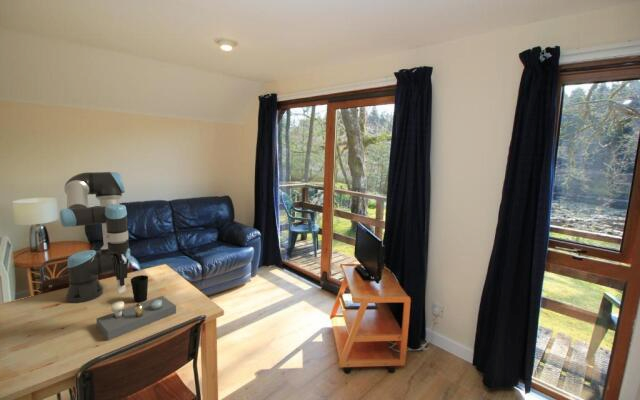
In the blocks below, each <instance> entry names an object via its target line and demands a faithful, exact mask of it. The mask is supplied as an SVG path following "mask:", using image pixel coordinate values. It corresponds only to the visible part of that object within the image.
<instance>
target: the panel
mask: <svg viewBox="0 0 640 400" xmlns="http://www.w3.org/2000/svg"><path fill="white" fill-rule="evenodd" d="M154 300H162V307H161V308H160V309H157V310H153V309H151V307H150V303H151V302H152V301H154ZM141 304H142V307H143V316H142V317H139V318H137V317H136V314H135V305H136V304H134V305H131V306H130V307H129V306H128V307H126V308H124V309H123V310H122V317H120V318H117V319H115V312H111V313H108V314H106V315H103V316H100V317H98V318H96V327H97V329H98V330H99V332H101V333H102V336H105V338H106V340H107V341H110V340H113V339H116V338H119V337H120V336H123V335H125V334H128V333H131V332H133V331H135V330H138V329H140V328H143V327H145V326H147V325H150V324H152V323H155V322H158V321H160V320H162V319H165V318H168V317H169V316H172V315H175V314H177V304H175V303H173V302H172V301H171V300H169V299H168V298H166V297H165V296H164V295H160V296H158V297H155V298H151V299H150V300H146V301H144V302H141Z"/></svg>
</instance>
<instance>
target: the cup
mask: <svg viewBox="0 0 640 400" xmlns="http://www.w3.org/2000/svg"><path fill="white" fill-rule="evenodd" d="M130 285H131V289H132V290H131V291H132V293H133V301H134V303H136V304H138V303H143V302H146V301H148V286H149V276H148V275H146V274H145V275H144V274H141V275H136V276H133V277H131V278H130Z"/></svg>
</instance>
